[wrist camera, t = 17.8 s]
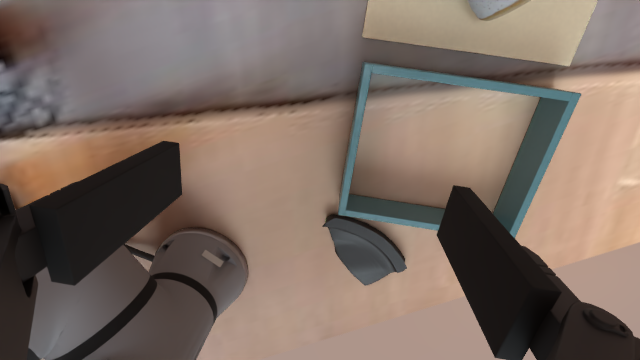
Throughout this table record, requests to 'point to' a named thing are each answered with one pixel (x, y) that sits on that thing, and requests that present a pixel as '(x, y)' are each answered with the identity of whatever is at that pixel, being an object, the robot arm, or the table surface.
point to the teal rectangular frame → (522, 176)
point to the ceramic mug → (494, 7)
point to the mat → (484, 27)
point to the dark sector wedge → (364, 249)
